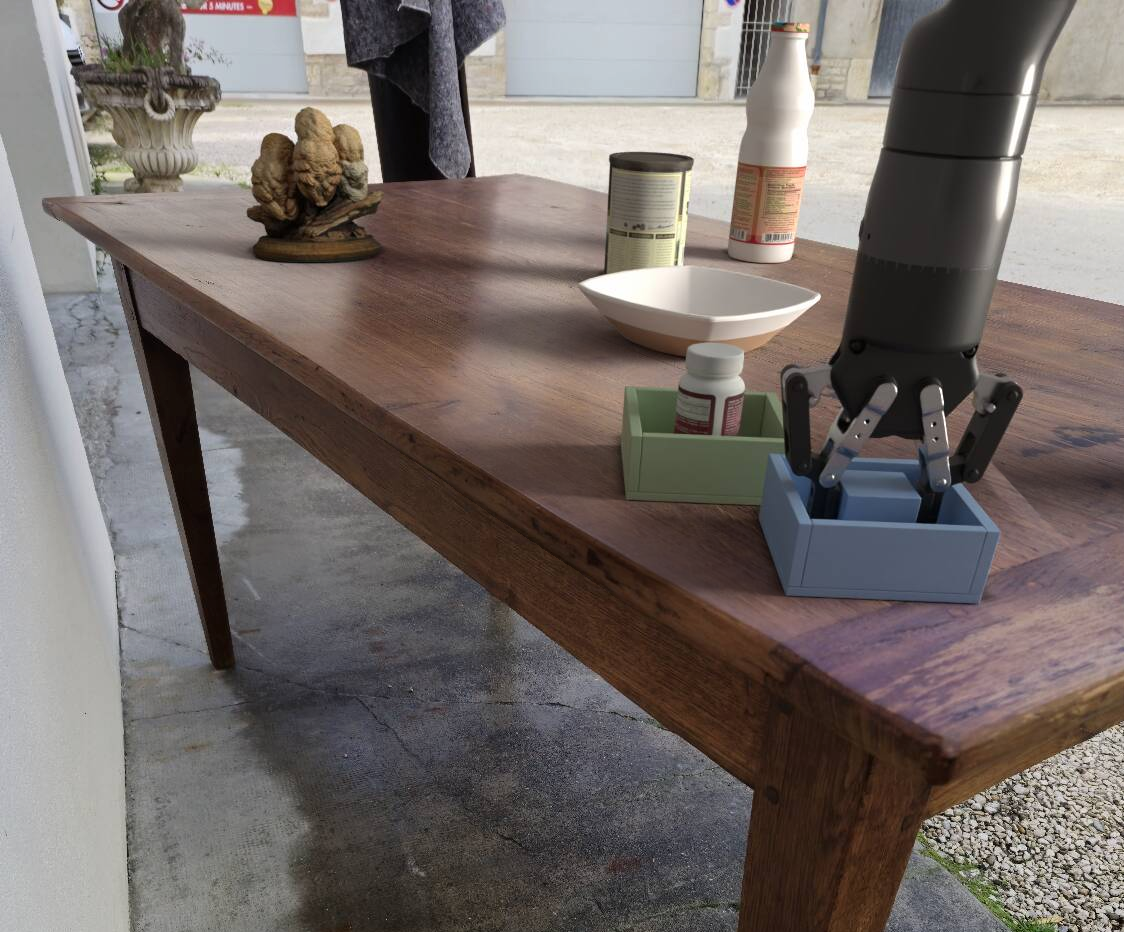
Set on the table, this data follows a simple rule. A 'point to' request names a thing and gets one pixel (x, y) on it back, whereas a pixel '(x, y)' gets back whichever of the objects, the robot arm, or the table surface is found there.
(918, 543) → the blue bin
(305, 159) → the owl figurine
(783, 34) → the fruit juice
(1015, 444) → the table surface
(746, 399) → the green bin
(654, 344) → the bowl
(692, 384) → the pill bottle
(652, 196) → the coffee can
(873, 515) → the blue block
